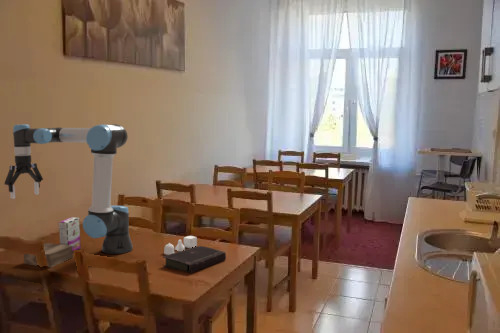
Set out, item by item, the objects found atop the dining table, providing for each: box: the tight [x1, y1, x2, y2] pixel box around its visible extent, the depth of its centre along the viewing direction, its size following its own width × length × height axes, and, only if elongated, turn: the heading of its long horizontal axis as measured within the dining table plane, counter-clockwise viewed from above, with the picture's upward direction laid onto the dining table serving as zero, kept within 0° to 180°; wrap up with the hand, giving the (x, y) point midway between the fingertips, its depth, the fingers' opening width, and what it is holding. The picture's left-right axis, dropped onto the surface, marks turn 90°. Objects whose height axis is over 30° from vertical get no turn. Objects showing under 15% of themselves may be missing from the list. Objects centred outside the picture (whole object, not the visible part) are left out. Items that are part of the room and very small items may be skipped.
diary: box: [162, 245, 227, 275], centre depth 224 cm, size 19×25×5 cm
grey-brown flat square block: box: [23, 242, 74, 268], centre depth 225 cm, size 15×15×6 cm
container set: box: [163, 235, 198, 256], centre depth 245 cm, size 20×5×6 cm, turn 142°
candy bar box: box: [58, 216, 81, 251], centre depth 240 cm, size 11×5×16 cm, turn 168°
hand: (25, 196), depth 243 cm, fingers open, 13 cm apart
